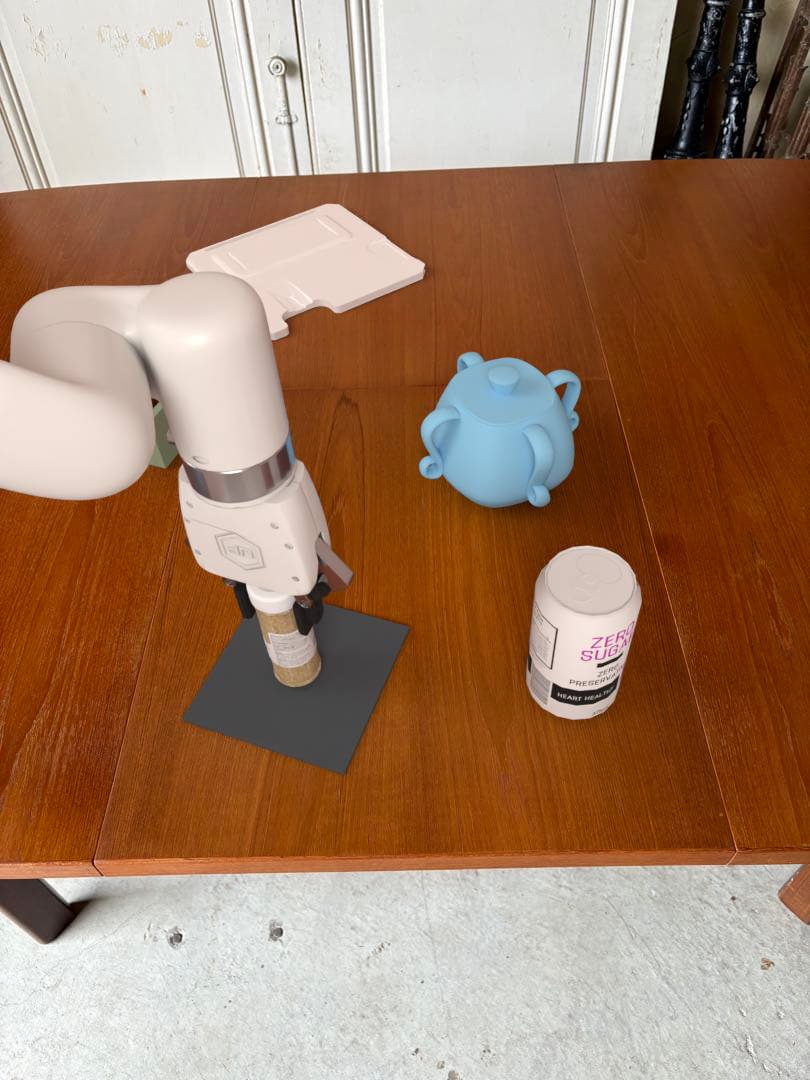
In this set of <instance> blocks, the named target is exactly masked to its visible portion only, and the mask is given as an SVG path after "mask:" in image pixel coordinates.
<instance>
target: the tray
mask: <svg viewBox="0 0 810 1080" xmlns="http://www.w3.org/2000/svg"><path fill="white" fill-rule="evenodd" d="M185 264H186V267H187V269H189V270H190V271H191V273H195V272H207V271H211V272H222V273H227V274H230V275H233V276H236V277H239V278H241V279H243V280H244V281H246V282H247V283H248V284H249V285H251V286H252V287H253V288H254V290H255V291H256V292H257V294H258V295H259V296H260V298H261V300H262V303H263V305H264V309H265V313H266V317H267V321H268V326H269V331H270V336H271V340H272V341H277V340H281V339H283V338H285V337H287V336H288V335H289V334H290V330H289V325H288V322H287V323H286V322H285V321H286V320H287V319H289V318H292V317H294V316H297V315H299V314H302V313H304V312H306V311H308V310H311V309H313V308H318V307H324V308H325V307H326V308H328V309H330V310H331V311H332V312H333V313H335V314H342V313H344V312H347V311H349V310H351V309H354V308H356V307H359V306H361V305H363V304H366V303H368V302H371V301H373V300H376V299H378V298H380V297H383V296H385V295H387V294H391V293H392V292H394V291H398V290H400V289H402V288H405V287H406V286H409V285H411V284H414V283H417V282H418V281H422V280H423V279H424V276H425V273H426V269H425V267H426V264H425V263H424V262H423V261H421V260H420V259H418V258H416V257H413V256H412V255H410V254H409V253H407V252H406V251H405V250H403V249H402V248H401V247H399V246H397V245H396V244H394V243H393V241H392V242H391V240H389V239H388V238H387V236H385V235H384V234H382V233H381V232H380V231H379V230H378V229H376V228H374V227H372V226H371V225H370V224H368V223H367V222H366V221H364V220H362V219H361V218H360V217H358V216H357V215H355V214H354V213H352V212H351V211H349V210H348V209H347V208H345V207H344V206H342V205H341V204H339V203H325V204H322V205H319V206H317V207H314V208H310V209H308V210H306V211H303V212H300V213H297V214H294V215H292V216H289V217H286V218H284V219H280V220H278V221H274V222H272V223H270V224H266V225H264V226H261V227H259V228H256V229H252V230H250V231H248V232H245V233H242V234H239V235H236V236H233V237H231V238H228V239H225V240H223V241H220V242H217V243H214V244H212V245H209V246H205V247H203V248H201V249H200V248H199V249H197V250H195V251H192V252H190V253H189V254H188V255H187V257H186V260H185Z"/></svg>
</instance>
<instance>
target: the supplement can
mask: <svg viewBox="0 0 810 1080" xmlns="http://www.w3.org/2000/svg"><path fill="white" fill-rule="evenodd" d="M534 585H535V586H534V595H533V603H532V604H533V605H532V611H531V612H532V615H531V622H530V631H529V641H528V650H527V661H526V673H525V674H526V675H525V676H526V677H525V678H526V679H525V681H526V683H525V684H526V685H527V689H528V690H529V693H530V696H531V697H532V699H533V700H534V701H535V702H536V703H537V704H538V705H539V706H540V707H541V708H542V709H543V710H545V711H547V712H549V713H551V714H552V715H553V716H555V717H559V718H564V719H568V720H572V721H573V720H574V721H575V720H586V719H592V718H593V717H595V716H598V715H601V714H602V713H605V711H606V710H607V709H608V708H609V707H611V705H612V704H613V703H614V702H615V699H616V697H617V694H618V691H619V689H620V685H621V681H622V677H623V673H624V670H625V666H626V662H627V659H628V655H629V652H630V651H629V650H630V647H631V643H632V640H633V637H634V633H635V628H636V625H637V621H638V618H639V614H640V610H641V607H642V603H643V600H642V590H641V586H640V583H638V580H637V579H636V574H635V572H634V571H633V569H632V567H631V566H630V563H628V562H627V561H626V560H625V559H624V558H622V557H621V556H620V555H619V554H617V553H615V552H613V551H611V550H609V549H606V548H605V547H598V546H593V545H580V546H578V545H577V546H572V547H569V548H567V549H564V550H562V551H560V552H558V553H557V554H556V555H555V556H554V557H552V558H551V559H550V560H549V561H548V564H546V565H545V566H544V567H543V568H542V569H541V571H540V572H539V574H538V577H537V579H536V581H535V584H534Z"/></svg>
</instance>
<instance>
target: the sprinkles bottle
mask: <svg viewBox="0 0 810 1080" xmlns="http://www.w3.org/2000/svg"><path fill="white" fill-rule="evenodd" d="M246 588H247V592H248V595H249V598H250V601H251V603H252V605H253V606H254V607H255V610H256V613H257V616H258V619H259V623H260V626H261V630H262V633H263V638H264V641H265V644H266V647H267V651H268V654H269V656H270V658H271V660H272V664H273V669H274V674H275V676H276V678H277V679H278V680H279V681H280V682H281V683H283V684H284V685H287V686H290V687H300V686H304V685H307V684H309V683H311V682H312V681H313V680H314V679H315V678H316V677H317V676H318V674H319V672H320V670H321V658H320V656H319V654H318V651H317V647H316V646H317V643H316V638H315V634H314V630H313V627H312V628H311V630H310V632H309V634H308V635H307V636H304V635H301V634H300V632H298V628H297V624H296V620H295V616H294V612H293V604H294V602H295V600H296V599H295V597H294V596H293V595H288V594H284V593H280V592H276V591H272V590H268V589H264V588H261V587H257V586H253V585H250V584H246Z"/></svg>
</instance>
